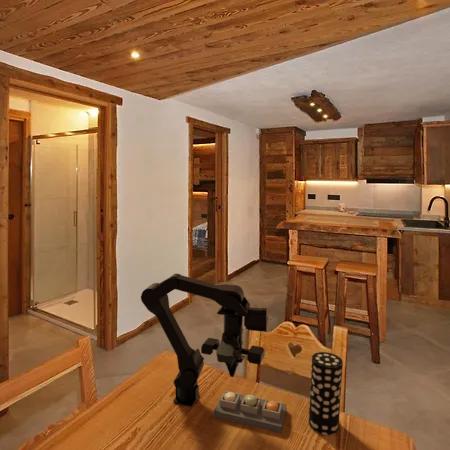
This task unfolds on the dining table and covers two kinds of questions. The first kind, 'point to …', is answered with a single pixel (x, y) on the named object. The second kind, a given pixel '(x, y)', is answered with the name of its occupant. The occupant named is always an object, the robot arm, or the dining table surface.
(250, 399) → the sage button
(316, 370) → the spotted tube
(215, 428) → the dining table surface
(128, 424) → the dining table surface
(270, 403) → the orange button
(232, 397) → the cream button
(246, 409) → the rack
